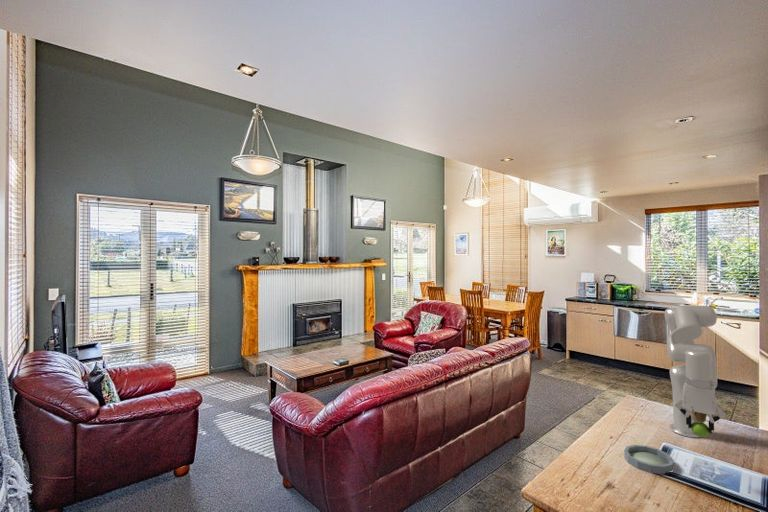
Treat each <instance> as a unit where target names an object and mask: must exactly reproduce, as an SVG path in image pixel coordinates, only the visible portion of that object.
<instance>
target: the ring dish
mask: <svg viewBox="0 0 768 512" xmlns="http://www.w3.org/2000/svg"><path fill="white" fill-rule="evenodd" d="M623 454H624V455H623V456H624V459H625V461H626V462H627V463H628V464H629V465H631V466H633V467H634V468H636V469H638V470H641V471H643V472H647V473H649V474H657V475H658V474H659V475H666V474H665V473H666V472H669V471H672V470H673V471H674V469H673V467H674V468H675V460H674V459H673V457H672V456H671V455H670V454H669V453H667V452H665V451H663V450H661V449H659V448H656V447H653V446H649V445H643V444H642V445H641V444H633V445H632V444H631V445H627V446H626V447H625V448H624V450H623ZM661 457H662V458H661ZM663 458H664V459H663ZM665 459H666V461H665Z"/></svg>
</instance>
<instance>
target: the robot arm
mask: <svg viewBox="0 0 768 512" xmlns="http://www.w3.org/2000/svg"><path fill="white" fill-rule="evenodd" d="M664 320H665V322H666V325H667V327H668V328H669V330H670V334H669V335H668V337H667V338H666V347H667V348H666V349H667V356H668V358H669V359H670V361H672V362H673V363H677V364H678V363H680V364H685V365H673V366H671V367H670V369H669V377H670V382H671V389H672V391H671V392H672V411H673V413H672V417H673V423H671V424H670V425H669V429H670V430H671V432H673V433H675V434H678V435H680V436H683V437H687V438H701V437H700V436H697V435H696V434H694V433H693V431H692V429H691V425H692V424H693V423H694V422H695V421H694V420H693V418H692V416H691V412H690V409H693V410H694V413H695V412H697V413H702V414H707V417H708V419H709V420H708V428H709V434H712V432H715V422H717V421H719V420H721V419H723V418H726V417H727V416H726V413H725V412H724V410H722V409H721V408H720V407H719V406H718V401H717V400H718V399H717V394H716V388H717V387H718V367H717V358H716V357H717V356H716V352H715V349H714V348H713V347H712V346H711V345H709V344H708V345H707V344H699V343H695V340H696V339H698V338H700V337H701V336H702V334H703V328H710V327H713V326H715V325H716V323H717V320H718V317H717V312H716V311H715V309H714V308H713V307H712V306H709V305H695V304H694V305H692V304H691V305H687V304H686V305H685V304H684V305H679V306H677V307H669V308H666V309H665V310H664ZM690 406H692V407H693V408H691V407H690ZM717 413H718V414H717Z"/></svg>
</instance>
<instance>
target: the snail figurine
mask: <svg viewBox="0 0 768 512" xmlns="http://www.w3.org/2000/svg"><path fill="white" fill-rule="evenodd" d="M690 407H691V408H693V407H692V406H690ZM690 412H691V416H692V418H693V420H694V421H695V422H694V423H693V424H692V425H691V429H692V431H693V433H694V434H696V435H697V436H700V437H699V438H705V437H708V436H709V435H710V432H709V425H707V424H706V423H705V422H706V420H707V417H708V415H707V414H702V413H697V412H695V413H694V410H693V409H690Z"/></svg>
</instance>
